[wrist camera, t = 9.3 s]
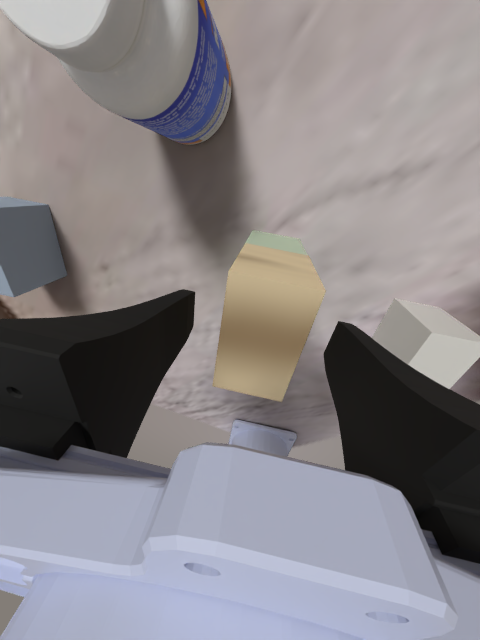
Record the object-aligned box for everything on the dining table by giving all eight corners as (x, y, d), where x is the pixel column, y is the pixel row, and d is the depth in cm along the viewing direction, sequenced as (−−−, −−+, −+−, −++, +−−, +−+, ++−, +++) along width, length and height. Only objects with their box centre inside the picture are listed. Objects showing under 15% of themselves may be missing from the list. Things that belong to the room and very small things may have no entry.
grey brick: (398, 363, 21) (430, 408, 16) (361, 355, 21) (383, 398, 16) (438, 306, 17) (491, 344, 13) (394, 297, 18) (431, 332, 13)
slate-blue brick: (67, 275, 21) (14, 297, 17) (33, 268, 21) (-30, 288, 17) (49, 204, 18) (-24, 209, 13) (8, 196, 18) (-76, 198, 14)
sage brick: (279, 309, 19) (280, 342, 15) (240, 301, 20) (230, 332, 15) (299, 238, 16) (307, 255, 12) (253, 230, 16) (244, 243, 12)
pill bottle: (251, 63, 12) (196, -208, 4) (206, 165, 15) (117, 134, 7) (162, -13, 11) (-162, -594, 3) (131, 110, 14) (-83, -9, 6)
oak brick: (280, 342, 15) (281, 401, 11) (230, 331, 15) (212, 386, 11) (308, 255, 12) (326, 291, 8) (245, 242, 12) (228, 271, 8)
